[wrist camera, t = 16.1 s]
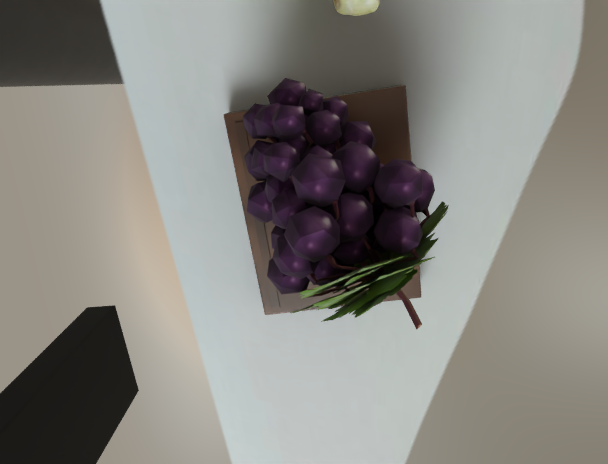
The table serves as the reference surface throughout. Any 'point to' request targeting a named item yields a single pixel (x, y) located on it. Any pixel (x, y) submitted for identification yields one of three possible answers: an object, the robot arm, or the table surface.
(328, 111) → the fruit
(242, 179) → the cutting board
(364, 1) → the mug
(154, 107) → the table surface
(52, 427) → the robot arm
